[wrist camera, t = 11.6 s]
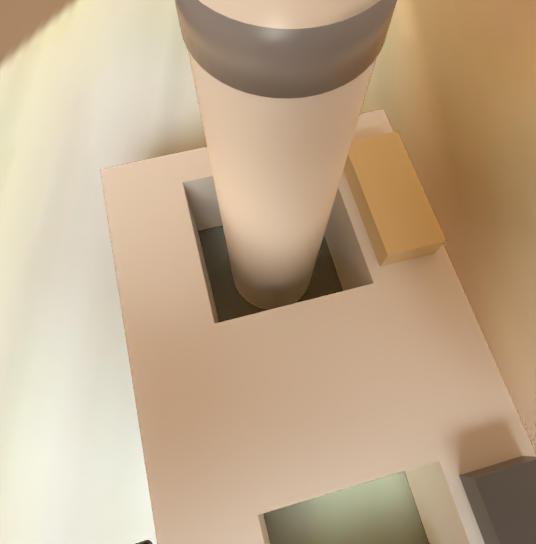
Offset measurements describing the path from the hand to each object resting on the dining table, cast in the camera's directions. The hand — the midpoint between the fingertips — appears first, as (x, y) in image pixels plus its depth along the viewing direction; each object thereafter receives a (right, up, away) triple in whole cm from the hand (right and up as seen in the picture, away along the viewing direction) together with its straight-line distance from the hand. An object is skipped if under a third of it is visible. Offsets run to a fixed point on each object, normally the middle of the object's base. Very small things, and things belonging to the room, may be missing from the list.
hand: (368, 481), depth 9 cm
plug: (-2, +4, +10) cm, 11 cm away
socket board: (0, -1, +8) cm, 8 cm away
